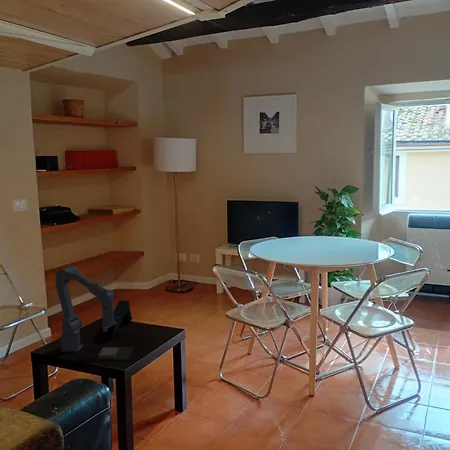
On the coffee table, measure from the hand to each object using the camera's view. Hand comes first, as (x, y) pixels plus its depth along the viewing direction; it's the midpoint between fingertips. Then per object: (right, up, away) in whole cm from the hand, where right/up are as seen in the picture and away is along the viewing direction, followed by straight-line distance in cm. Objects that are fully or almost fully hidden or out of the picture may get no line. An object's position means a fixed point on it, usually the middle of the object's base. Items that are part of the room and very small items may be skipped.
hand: (109, 340), depth 246 cm
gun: (-3, -2, +33) cm, 33 cm away
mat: (+3, -7, 0) cm, 8 cm away
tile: (0, -5, +2) cm, 6 cm away
